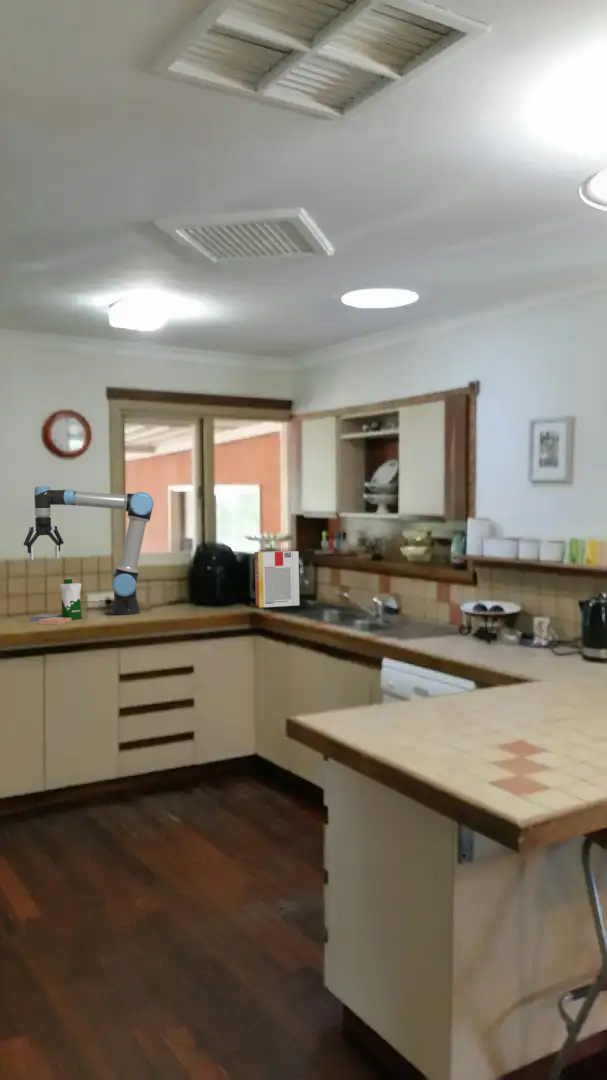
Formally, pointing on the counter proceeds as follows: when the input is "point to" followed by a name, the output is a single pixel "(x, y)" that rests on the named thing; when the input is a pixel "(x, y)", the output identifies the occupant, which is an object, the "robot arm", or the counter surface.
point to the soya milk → (71, 599)
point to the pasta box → (277, 578)
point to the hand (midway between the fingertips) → (44, 559)
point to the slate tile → (44, 616)
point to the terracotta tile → (55, 620)
